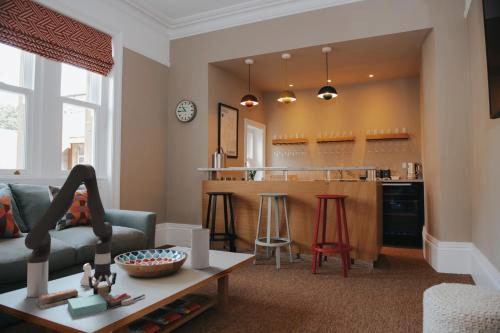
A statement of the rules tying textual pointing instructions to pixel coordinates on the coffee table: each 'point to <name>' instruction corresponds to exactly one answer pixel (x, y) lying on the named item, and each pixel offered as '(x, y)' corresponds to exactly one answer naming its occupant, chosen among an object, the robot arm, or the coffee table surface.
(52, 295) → the packaged product
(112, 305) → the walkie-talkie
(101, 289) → the walnut block
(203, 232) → the cylinder vase
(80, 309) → the teal base block
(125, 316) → the coffee table surface
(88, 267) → the sitting furry creature
